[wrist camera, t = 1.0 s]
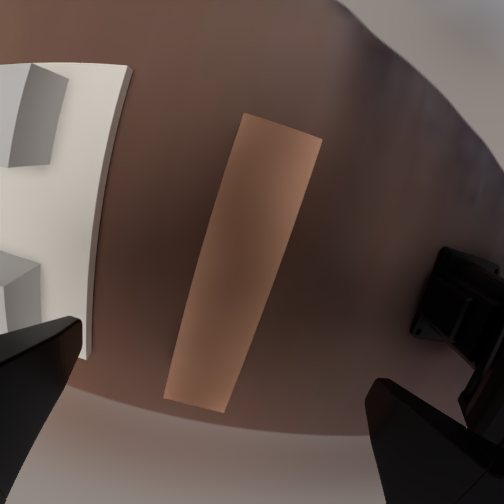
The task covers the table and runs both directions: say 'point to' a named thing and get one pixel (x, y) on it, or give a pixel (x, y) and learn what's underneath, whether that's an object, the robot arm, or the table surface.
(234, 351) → the terracotta bar
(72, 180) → the display stand
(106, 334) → the table surface
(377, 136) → the table surface
